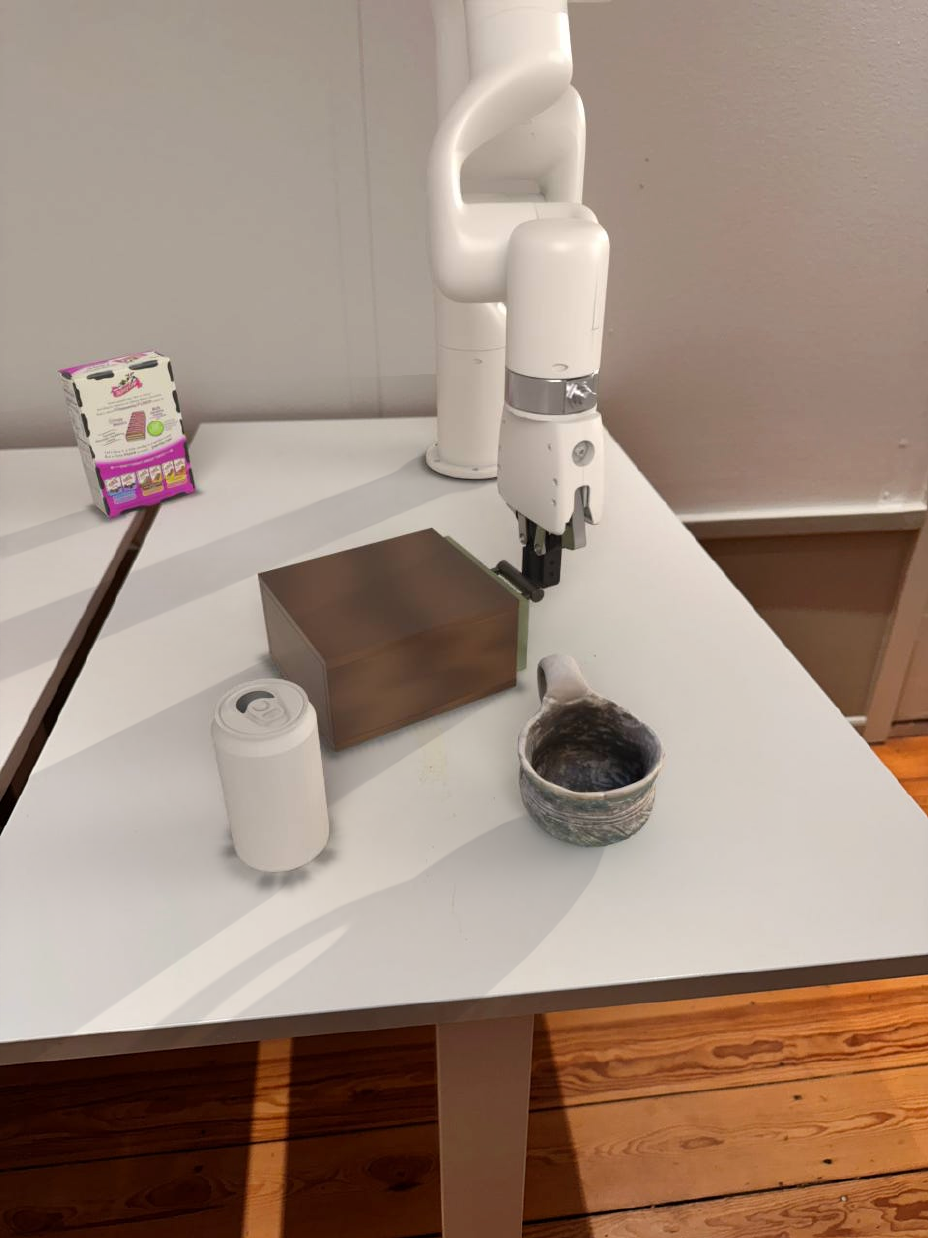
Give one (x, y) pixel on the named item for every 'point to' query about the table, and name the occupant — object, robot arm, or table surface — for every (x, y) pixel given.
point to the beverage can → (271, 774)
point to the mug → (586, 761)
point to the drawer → (523, 585)
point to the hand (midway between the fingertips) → (540, 584)
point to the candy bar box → (129, 431)
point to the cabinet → (390, 633)
